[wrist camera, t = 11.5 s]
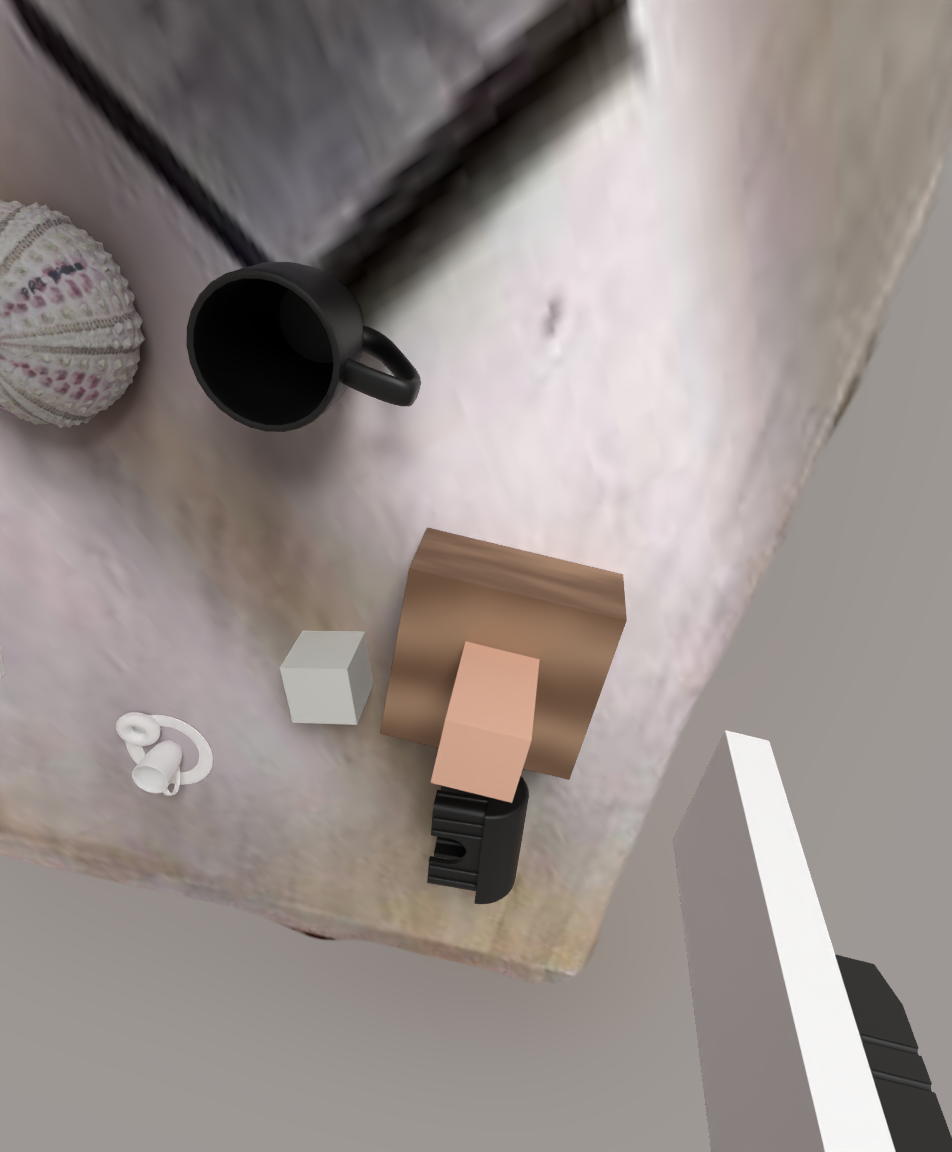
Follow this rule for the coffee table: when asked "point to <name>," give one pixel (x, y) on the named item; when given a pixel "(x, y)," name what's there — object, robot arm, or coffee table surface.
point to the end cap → (477, 841)
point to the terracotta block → (488, 723)
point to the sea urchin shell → (61, 320)
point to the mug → (288, 347)
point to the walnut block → (504, 638)
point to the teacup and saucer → (161, 752)
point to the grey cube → (327, 677)
